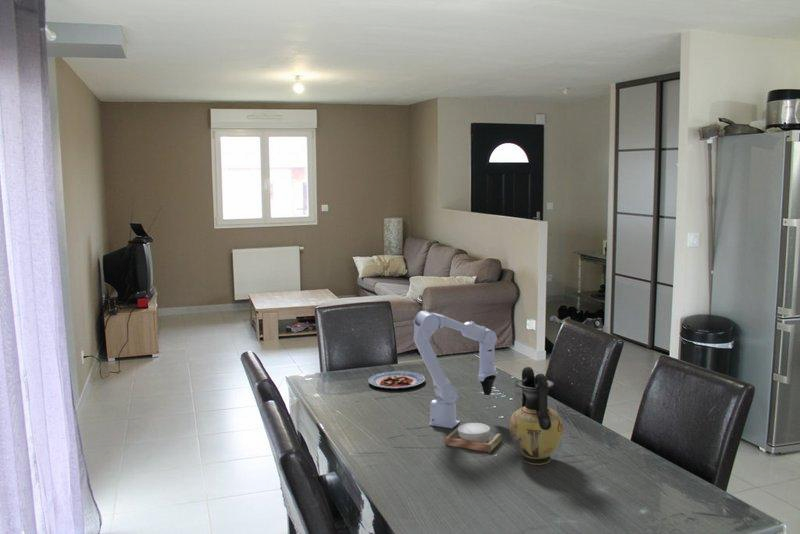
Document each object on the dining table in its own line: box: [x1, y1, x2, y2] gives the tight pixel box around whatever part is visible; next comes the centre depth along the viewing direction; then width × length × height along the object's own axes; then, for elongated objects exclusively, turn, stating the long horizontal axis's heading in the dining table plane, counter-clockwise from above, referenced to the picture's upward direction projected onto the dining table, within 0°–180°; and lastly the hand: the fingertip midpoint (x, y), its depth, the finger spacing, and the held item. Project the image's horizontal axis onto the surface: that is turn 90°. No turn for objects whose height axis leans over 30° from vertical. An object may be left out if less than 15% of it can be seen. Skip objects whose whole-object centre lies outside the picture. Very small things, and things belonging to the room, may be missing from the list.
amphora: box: [509, 366, 564, 466], centre depth 225 cm, size 18×17×30 cm
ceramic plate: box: [367, 370, 426, 390], centre depth 316 cm, size 26×26×3 cm
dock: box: [444, 426, 502, 453], centre depth 242 cm, size 16×11×2 cm
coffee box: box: [514, 379, 522, 412], centre depth 257 cm, size 9×6×16 cm
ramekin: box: [457, 422, 491, 443], centre depth 243 cm, size 11×11×5 cm
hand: (487, 394), depth 265 cm, fingers closed
